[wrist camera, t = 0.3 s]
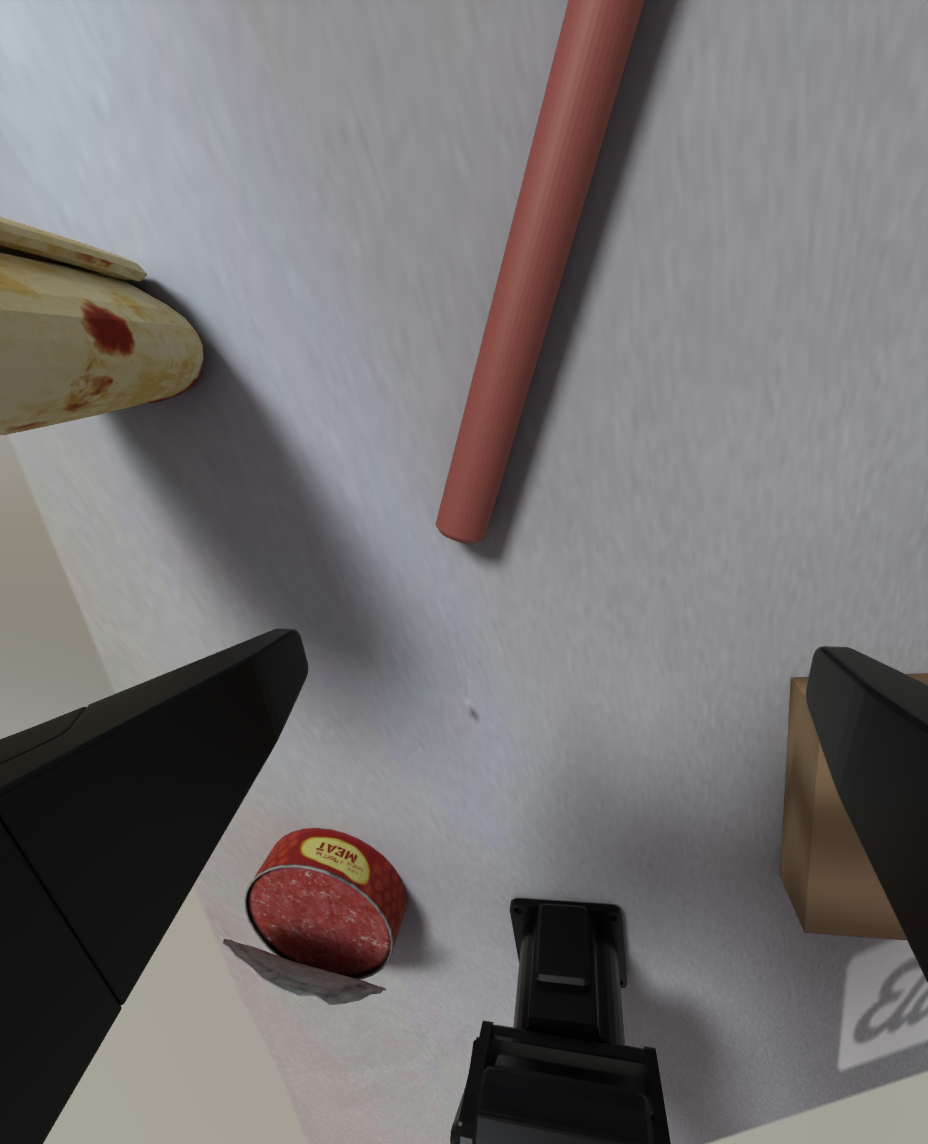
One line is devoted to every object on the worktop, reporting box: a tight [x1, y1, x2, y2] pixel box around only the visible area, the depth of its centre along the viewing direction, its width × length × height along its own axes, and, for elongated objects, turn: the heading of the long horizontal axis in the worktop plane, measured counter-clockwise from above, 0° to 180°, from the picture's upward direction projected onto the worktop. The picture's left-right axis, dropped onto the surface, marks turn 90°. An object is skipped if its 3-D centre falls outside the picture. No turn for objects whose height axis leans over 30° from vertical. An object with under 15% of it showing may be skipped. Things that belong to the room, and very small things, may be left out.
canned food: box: [223, 828, 407, 1005], centre depth 31 cm, size 11×10×10 cm
